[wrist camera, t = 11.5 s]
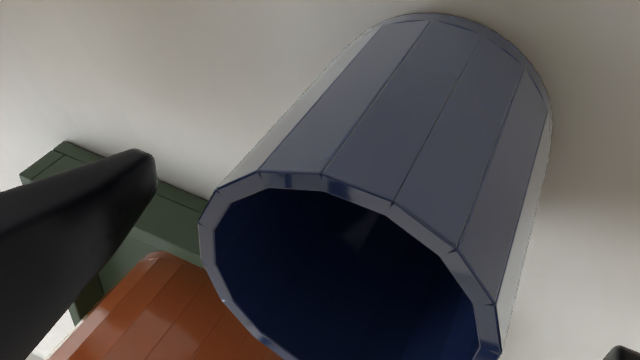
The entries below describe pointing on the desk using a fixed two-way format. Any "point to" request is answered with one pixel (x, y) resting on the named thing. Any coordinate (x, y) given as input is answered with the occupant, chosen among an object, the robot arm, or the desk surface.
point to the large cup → (161, 319)
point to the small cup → (388, 200)
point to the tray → (145, 237)
